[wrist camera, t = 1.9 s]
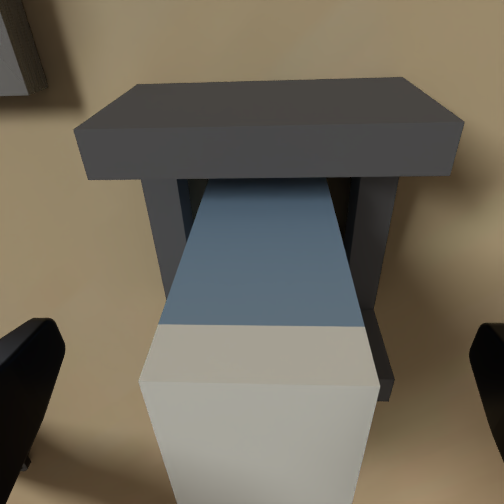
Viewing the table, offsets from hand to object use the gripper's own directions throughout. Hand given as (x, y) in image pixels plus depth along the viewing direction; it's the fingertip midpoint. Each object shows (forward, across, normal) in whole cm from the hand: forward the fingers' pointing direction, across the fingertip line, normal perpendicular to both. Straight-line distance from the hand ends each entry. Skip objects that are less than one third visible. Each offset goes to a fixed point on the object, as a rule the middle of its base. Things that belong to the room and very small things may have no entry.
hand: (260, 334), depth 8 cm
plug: (+5, 0, 0) cm, 5 cm away
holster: (+5, 0, 0) cm, 5 cm away
